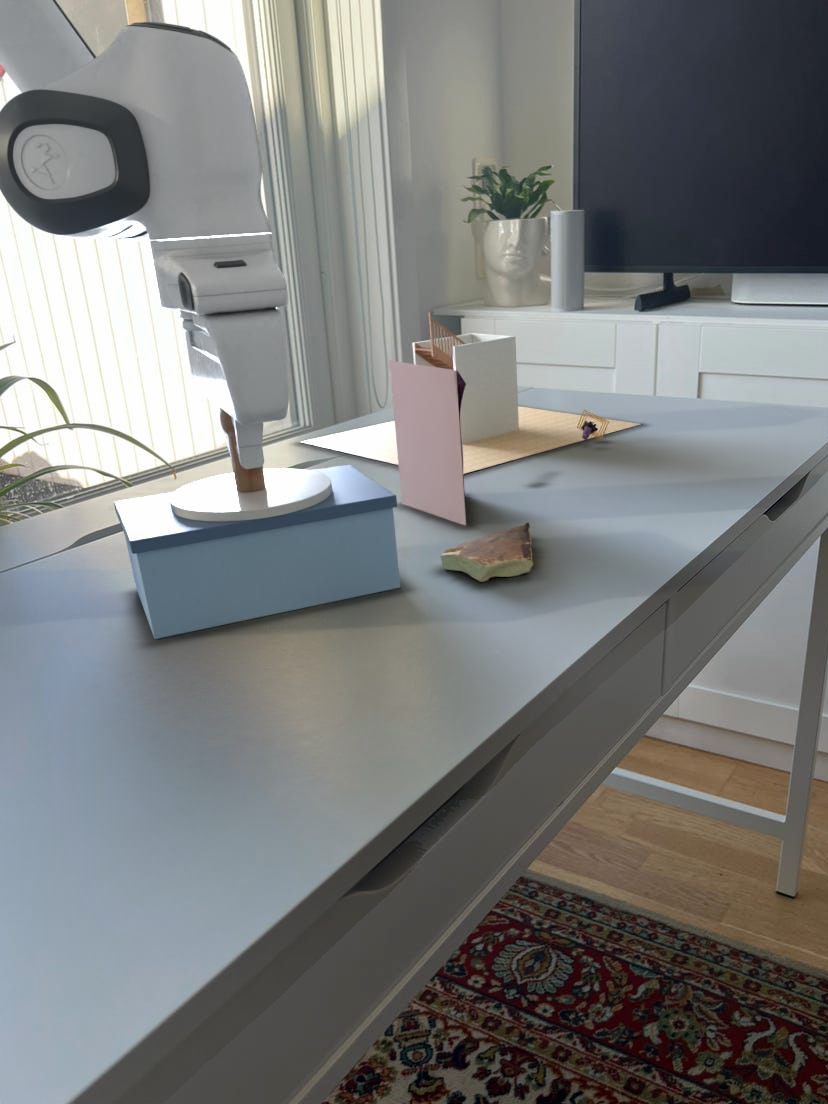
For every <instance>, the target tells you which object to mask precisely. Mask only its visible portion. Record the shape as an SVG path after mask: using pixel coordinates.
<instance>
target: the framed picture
mask: <svg viewBox="0 0 828 1104" xmlns="http://www.w3.org/2000/svg"><path fill="white" fill-rule="evenodd" d="M581 415H582V416H584V417H585V416H586V418H587V416H589V417H591V418H593V417H594V418H593V419H595V418H597V419H599V418H600V419H599V420H601V419H602V420H601V421H600V422H602V421H603V420H604V421H603V422H602V423H604V422H605V421H607V420H605V419H606V418H603V417H601V416H600V415H599V416H598V415H597V414H595V413H592V412H590V411H588V410H587V409H583V411H582V413H581ZM582 416H581V418H580V421H581V419H582ZM584 417H583V420H584ZM586 418H585V420H586ZM597 419H595V420H597ZM583 420H582V422H583ZM599 420H598V421H599ZM580 421H579V423H578V426H579V424H580ZM582 422H581V425H582ZM586 422H587V421H584V423H585V424H584V423H583V426H582V427H581V425H580V427H581V428H579V427H578V426H577V428H579V429H581V430H583V435H582V438H583V439H585V440H584V441H586V440H589V439H588V437H589V435H590V434H592V433H593V434H592V435H594V434H596V433H597V432H596V431H597V430H598V429H597V428H596V427H595V426H596V424H594V425H593V423H594V422H593V423H592V422H591V421H590V422H589V423H588V422H587V423H586ZM607 422H608V423H609V421H607ZM608 423H607V425H606V428H607V426H608ZM605 424H606V422H605ZM605 424H604V426H605ZM602 425H603V424H602ZM601 428H602V426H601ZM601 428H600V430H601ZM606 428H605V430H606ZM603 429H604V427H603ZM603 429H602V431H603ZM605 430H604V433H605ZM602 431H601V434H602ZM594 432H595V433H594ZM599 433H600V431H599ZM599 433H597V434H596V435H594V436H596V437H595V438H598V439H599V440H602V439H603V437H604V435H605V434H604V433H603V435H601V434H600V435H598V434H599ZM597 435H598V436H597Z"/></svg>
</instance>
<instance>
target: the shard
mask: <svg viewBox="0 0 828 1104" xmlns="http://www.w3.org/2000/svg"><path fill="white" fill-rule="evenodd" d="M530 528H531V526H530V522H526V523H525V524H523V525H518V526H515V527H512V528H510V529H507V530H503V531H500V532H499V531H498V532H496V533H495V532H494V533H491V534H488V535H485V536H483V537H479V538H475V539H472V540H469V541H467V542H464V543H461V544H458V545H456V546H452V547H451V548H448V549H444V551H443V552H442V553H441V555H440V561H441V566H442V569H443V570H449V571H457V572H462V573H465V574H467V575H468V576H470V577H471V578H472V579H475V580H476V581H478V582H480V583H482V582H483V583H485V582H487V581H489V580H490V578H495V577H500V578H504V577H506V578H510V577H518V576H521V575H524V574H528V573H530V572H531V571H532V567H533V566H534V561H533V551H532V543H533V542H532V535H531V533H530Z"/></svg>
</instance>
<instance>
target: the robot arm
mask: <svg viewBox="0 0 828 1104" xmlns="http://www.w3.org/2000/svg"><path fill="white" fill-rule="evenodd" d="M113 39H114V40H112V42H111V43H110V44H109V45H108V46H107V47H106V49H104V51H102V52H101V53H100V54H98V55H96V54H95V53H94V51H93V50H92V48H91V47H90V46H89V44H88V43H87V41H86V40H85V39H84V37H83V36H82V35H81V33H80V31H79V30H78V29H77V28H76V26H75V25H74V24H73V21H71V19H70V18H69V16H68V15H67V13H66V12H65V11H64V9H63V8H62V7H61V5H60V4H59V2H58V1H57V0H0V66H1V67H2V69H3V70H4V72H6V74H7V75H8V76H9V78H10V79H11V80H12V82H13V83H14V84H15V86H16V87H17V88H18V90H19V91H20V92H21V93H19V94H17V95H15V96H13V97H12V98H11V99H10V100H9V101H7V102H6V103H5V105H3V107H2V108H1V110H0V192H1V194H2V196H3V198H5V200H6V202H7V203H8V204H9V207H11V208H12V210H13V211H14V212H15V213H16V214H17V215H18V216H19V217H20V218H21V219H23V220H24V221H25V222H26V223H27V224H29V225H31V226H32V227H34V228H36V229H38V230H40V231H42V232H45V233H47V234H51V235H55V236H59V237H61V238H68V239H75V240H76V239H77V240H81V239H82V240H84V239H91V240H106V239H118V240H124V241H130V242H148V245H149V246H148V247H149V250H150V256H151V262H152V267H153V273H154V277H155V283H156V288H157V294H158V299H159V300H158V301H159V306H160V307H161V308H163V309H165V310H166V309H167V310H178V311H179V317H180V319H181V320H180V323H181V329H182V330H184V333H185V341H186V348H187V354H188V361H189V366H190V373H191V377H192V382H193V384H194V387H195V388H196V390H197V391H198V392H200V394H202V395H204V396H205V397H206V398H207V399H208V400H210V401H211V402H212V403H213V404H215V405H216V409H217V413H218V417H219V418H220V412H221V409H223V410H224V411H225V412H226V413H228V414H229V415H230V416H231V418H232V424H233V425H234V429H235V436H236V442H237V444H235V445H236V451H237V456H238V462H239V463H240V465H241V466H242V467H243V468H245V469H252V468H258V467H261V466H263V467H264V464H265V456H264V449H263V437H264V436H263V435H264V424H265V423H268V422H269V423H270V422H277V421H282V420H285V419H286V417H287V415H288V411H289V405H290V384H289V368H288V354H287V353H288V352H287V342H286V332H285V323H284V319H283V315H282V313H281V311H280V309H279V308H285V307H287V306H288V304H289V291H288V286H287V280H286V278H285V276H284V274H283V271H281V269H280V268H279V267H278V264H277V263H278V262H277V258H276V255H275V249H274V242H273V234H272V227H271V223H270V221H269V219H268V216H267V214H266V211H265V208H264V204H263V198H262V178H263V159H262V153H261V146H260V139H259V132H258V127H257V122H256V118H255V111H254V106H253V102H252V97H251V93H250V90H249V85H248V81H247V78H246V74H245V71H244V68H243V66H242V64H241V61H240V59H239V57H238V56H237V54H236V53H235V52H234V51H233V50H232V49H231V47H230V46H228V45H227V44H226V43H225V42H223V41H222V40H221V39H219V38H218V37H216V36H214V35H212V34H210V33H207V32H205V31H203V30H200V29H199V30H197V29H194V28H191V27H188V26H184V25H179V24H174V23H167V22H157V21H141V22H133V23H130V24H127V25H125V26H123V27H122V28H121V29H120V30H119V31H118V33H117V35H116V36H115V37H114V38H113ZM223 432H224V431H223ZM224 436H225V440H226V446H227V451H228V454H229V455H230V449H229V443H228V437H227V434H226V433H225V432H224Z"/></svg>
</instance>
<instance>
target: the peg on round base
mask: <svg viewBox="0 0 828 1104" xmlns="http://www.w3.org/2000/svg"><path fill="white" fill-rule="evenodd" d="M218 419H219V424H220V428H221V430H222V431H223V432H225V433H226V434H227V437H228V443H229V449H230V454H229V456H230V461H231V468H232V472H230V473H224V474H219V475H215V476H210V477H207V478H203V479H200V480H197V481H196V480H195V481H193V482H191V483H187V484H185V485H183V486H181V487H180V488H177V489H176V490H175V491H173V492H174V493H172V494H171V496H170V498H169V502H170V508H171V511H172V512H173V513H174V514H176V515H177V516H180V517H182V518H186V519H191V520H197V521H209V522H231V521H246V520H255V519H263V518H269V517H275V516H280V515H284V514H289V513H293V512H296V511H300V510H303V509H306V508H309V507H311V506H314V505H316V504H318V503H320V502H322V501H324V500H325V499H327V498H328V497H329V496H330V495H331V493H332V482H331V479H330V478H329V477H328V476H326V475H325V474H322V473H319V472H315V471H310V470H311V469H310V470H309V469H303V468H264V465H263V466H261V467H258V468H252V469H245V468H243V467H242V466H241V465H240V463H239V462H238V456H237V451H236V445H235V444H237V442H236V436H235V429H234V425H233V424H232V418H231V416H230V415H229V414H228V413H226V412H225V411H224V410H223V409H221V412H220V417H219V418H218ZM225 433H224V434H225Z"/></svg>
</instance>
